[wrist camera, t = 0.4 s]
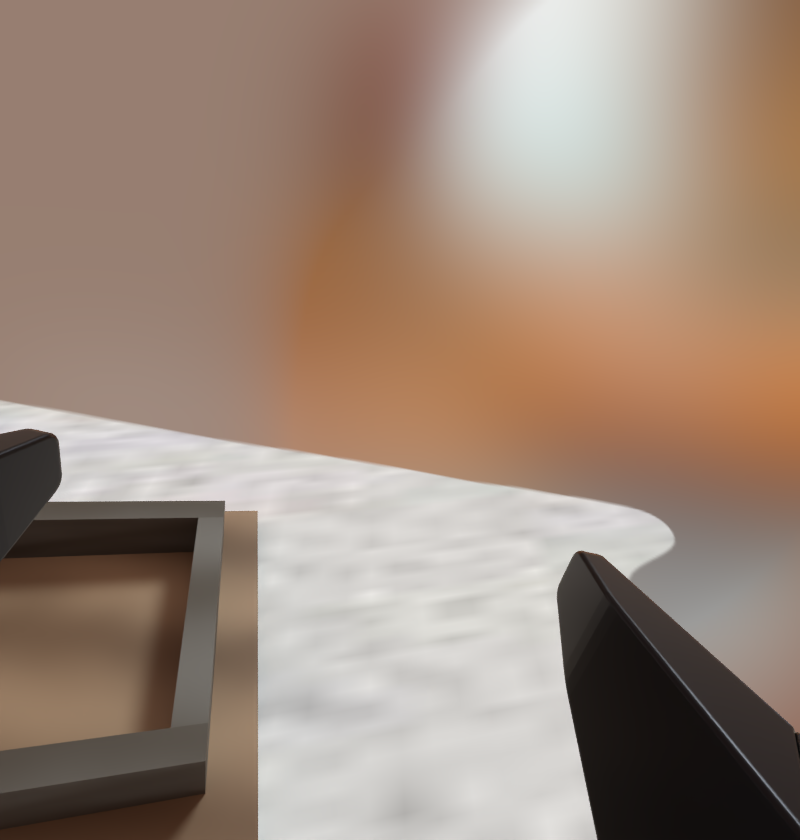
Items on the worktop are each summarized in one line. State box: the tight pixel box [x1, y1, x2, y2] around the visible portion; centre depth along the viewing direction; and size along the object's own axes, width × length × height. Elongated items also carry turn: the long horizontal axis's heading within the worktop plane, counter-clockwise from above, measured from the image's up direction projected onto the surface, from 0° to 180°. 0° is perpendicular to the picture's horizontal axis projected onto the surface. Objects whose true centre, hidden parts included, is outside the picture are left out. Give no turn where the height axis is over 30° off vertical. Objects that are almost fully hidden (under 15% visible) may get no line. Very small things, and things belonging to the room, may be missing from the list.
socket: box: [0, 501, 258, 840], centre depth 20 cm, size 16×16×4 cm
